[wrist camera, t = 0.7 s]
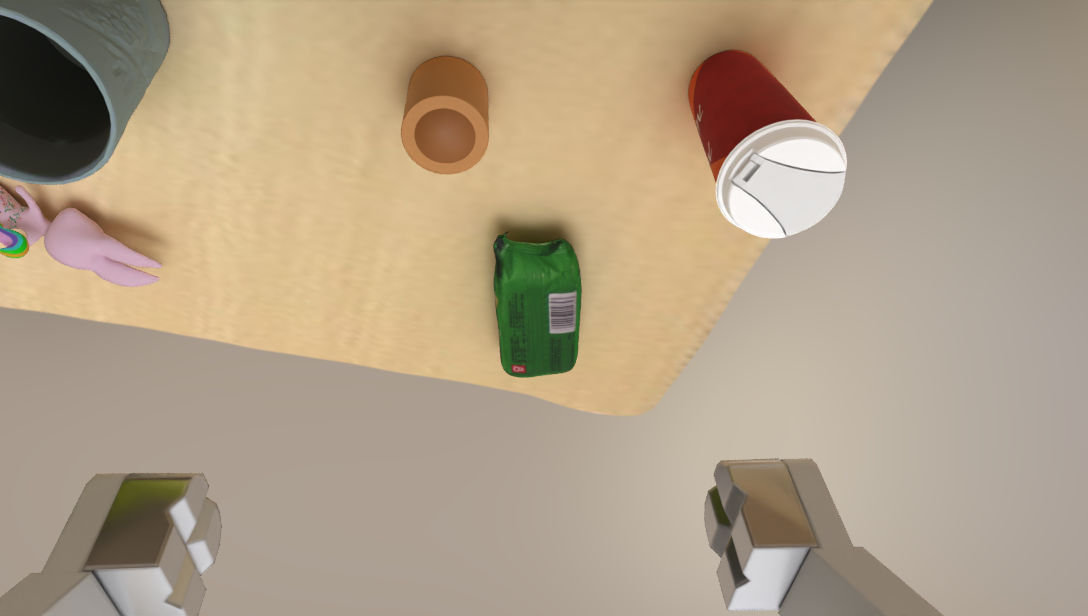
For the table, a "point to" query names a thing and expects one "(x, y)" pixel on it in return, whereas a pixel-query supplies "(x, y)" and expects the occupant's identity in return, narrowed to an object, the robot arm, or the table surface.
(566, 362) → the snack package
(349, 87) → the table surface
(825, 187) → the paper cup
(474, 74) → the terracotta hollow cylinder
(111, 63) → the grey green plant pot
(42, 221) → the rabbit figure
